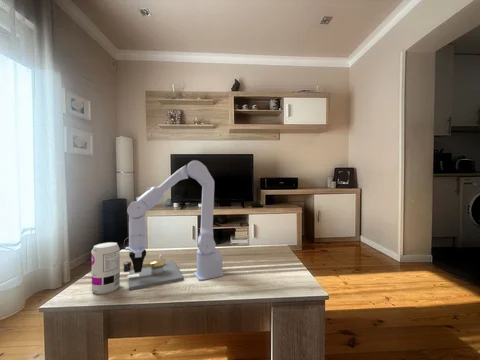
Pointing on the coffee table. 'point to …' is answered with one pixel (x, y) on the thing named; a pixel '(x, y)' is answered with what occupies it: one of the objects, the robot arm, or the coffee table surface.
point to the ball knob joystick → (146, 264)
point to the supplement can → (105, 267)
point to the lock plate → (154, 276)
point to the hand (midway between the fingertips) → (137, 271)
